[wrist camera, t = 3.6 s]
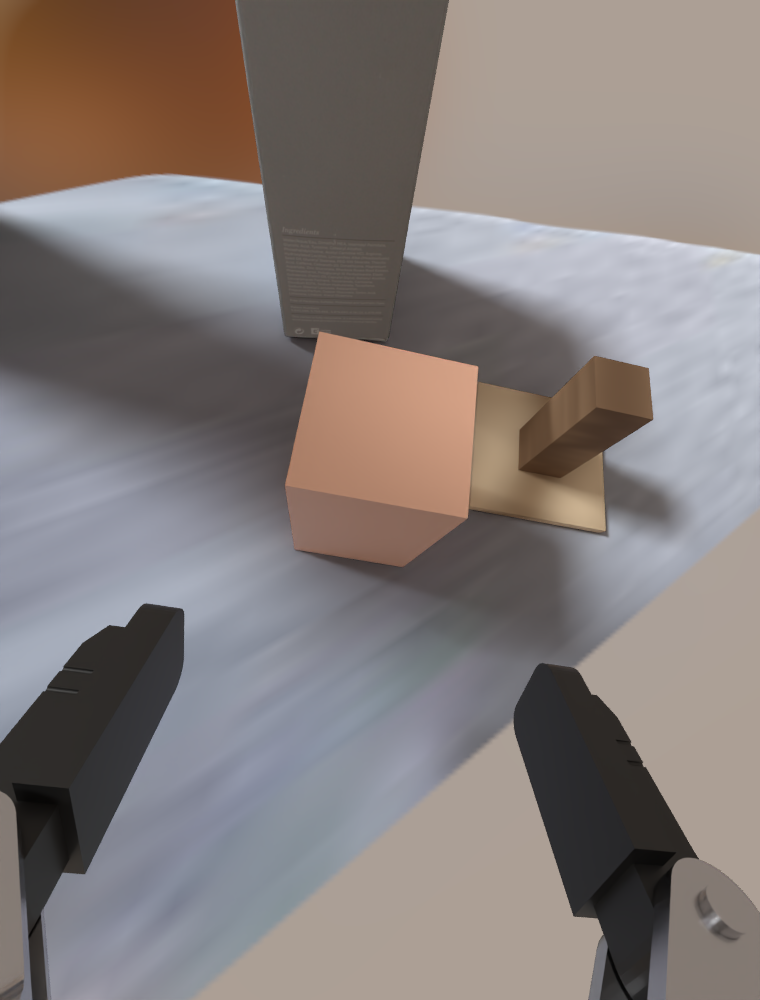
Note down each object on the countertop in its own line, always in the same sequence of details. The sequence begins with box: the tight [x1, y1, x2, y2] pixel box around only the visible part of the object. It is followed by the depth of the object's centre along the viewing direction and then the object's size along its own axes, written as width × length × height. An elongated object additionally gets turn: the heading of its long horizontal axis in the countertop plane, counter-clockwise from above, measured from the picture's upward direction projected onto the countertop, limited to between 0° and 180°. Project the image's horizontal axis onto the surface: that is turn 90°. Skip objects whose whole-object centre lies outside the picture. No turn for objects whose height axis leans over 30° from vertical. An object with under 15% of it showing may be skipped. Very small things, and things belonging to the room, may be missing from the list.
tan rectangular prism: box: [285, 331, 478, 567], centre depth 18 cm, size 6×6×10 cm
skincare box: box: [235, 0, 449, 341], centre depth 19 cm, size 8×7×16 cm
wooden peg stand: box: [468, 356, 653, 533], centre depth 22 cm, size 8×8×8 cm
